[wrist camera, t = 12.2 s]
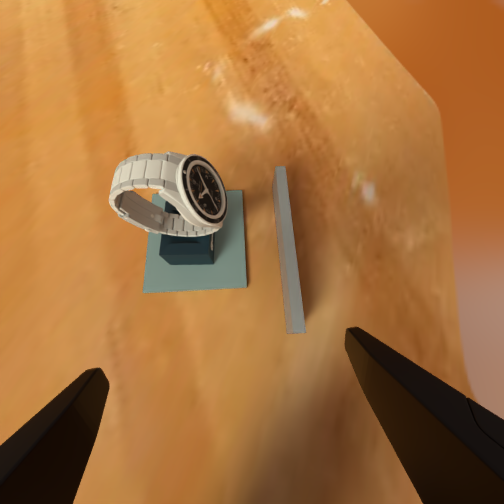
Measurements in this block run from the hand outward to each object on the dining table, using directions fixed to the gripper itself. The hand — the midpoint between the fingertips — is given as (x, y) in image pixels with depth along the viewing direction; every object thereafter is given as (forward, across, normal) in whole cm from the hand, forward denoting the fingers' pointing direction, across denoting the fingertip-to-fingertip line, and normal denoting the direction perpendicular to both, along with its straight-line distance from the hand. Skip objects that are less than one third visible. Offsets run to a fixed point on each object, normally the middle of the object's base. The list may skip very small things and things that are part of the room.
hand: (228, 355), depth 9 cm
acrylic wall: (+15, -5, +4) cm, 17 cm away
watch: (+17, +4, +2) cm, 18 cm away
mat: (+17, +3, +2) cm, 18 cm away
